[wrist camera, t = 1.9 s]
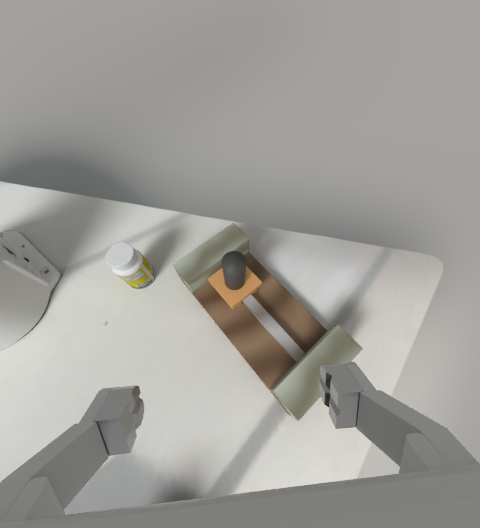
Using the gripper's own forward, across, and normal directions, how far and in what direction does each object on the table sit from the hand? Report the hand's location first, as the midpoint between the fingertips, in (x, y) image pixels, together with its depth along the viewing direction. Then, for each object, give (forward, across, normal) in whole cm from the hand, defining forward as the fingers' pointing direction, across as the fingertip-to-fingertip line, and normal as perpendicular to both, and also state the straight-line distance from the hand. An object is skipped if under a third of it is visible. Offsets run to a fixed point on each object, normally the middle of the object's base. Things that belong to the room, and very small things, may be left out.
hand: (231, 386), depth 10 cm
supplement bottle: (+31, +16, +5) cm, 35 cm away
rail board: (+25, -4, +11) cm, 28 cm away
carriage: (+27, -1, +7) cm, 28 cm away
